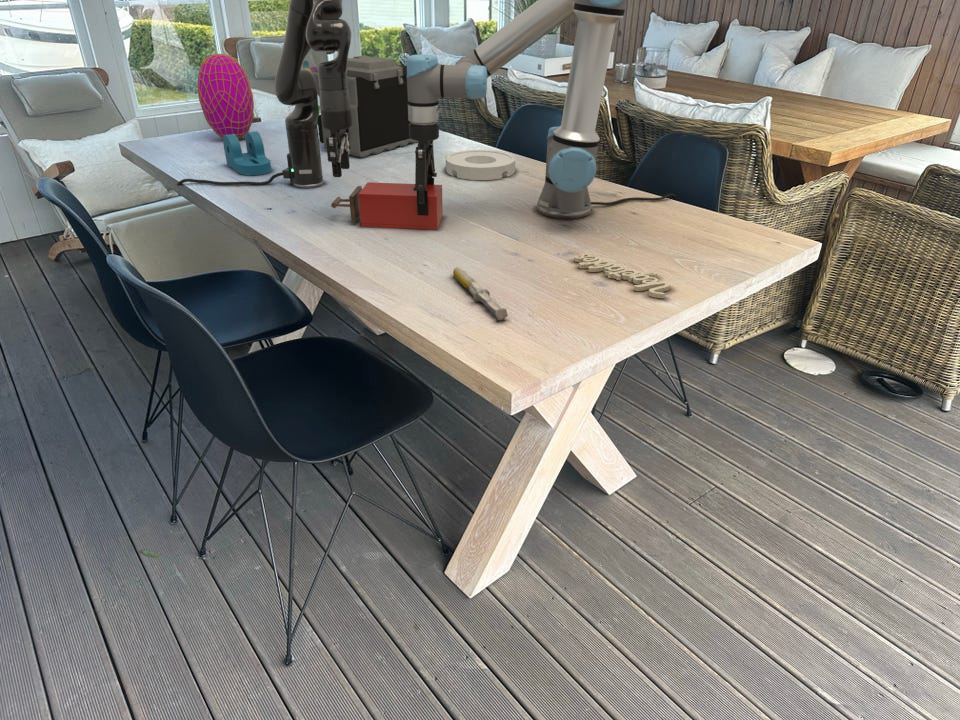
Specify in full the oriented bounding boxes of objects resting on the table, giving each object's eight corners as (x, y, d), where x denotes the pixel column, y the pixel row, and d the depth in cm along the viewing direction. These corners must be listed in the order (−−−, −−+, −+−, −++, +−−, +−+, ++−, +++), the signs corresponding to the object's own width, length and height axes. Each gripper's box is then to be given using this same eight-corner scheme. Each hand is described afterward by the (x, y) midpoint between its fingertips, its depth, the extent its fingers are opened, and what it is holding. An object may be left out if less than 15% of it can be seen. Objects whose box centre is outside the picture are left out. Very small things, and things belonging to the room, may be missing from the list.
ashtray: (448, 160, 240) (448, 149, 238) (514, 162, 240) (514, 150, 238) (443, 179, 220) (443, 166, 218) (515, 180, 220) (515, 168, 218)
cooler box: (383, 133, 276) (378, 52, 261) (425, 141, 265) (422, 56, 250) (314, 150, 251) (304, 61, 235) (358, 160, 240) (350, 67, 224)
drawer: (330, 221, 182) (327, 195, 179) (339, 210, 190) (337, 185, 187) (422, 224, 181) (421, 199, 177) (428, 213, 189) (427, 188, 185)
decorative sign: (686, 282, 150) (660, 295, 144) (686, 286, 150) (659, 300, 144) (592, 249, 166) (565, 259, 160) (592, 253, 167) (565, 263, 161)
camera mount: (227, 164, 233) (221, 132, 227) (257, 160, 238) (252, 129, 233) (244, 176, 220) (239, 143, 215) (276, 172, 225) (271, 139, 220)
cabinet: (361, 226, 182) (358, 193, 177) (369, 213, 191) (367, 182, 186) (437, 229, 180) (436, 196, 176) (442, 216, 189) (442, 184, 185)
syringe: (449, 274, 155) (449, 263, 153) (465, 272, 156) (464, 260, 154) (490, 323, 135) (491, 310, 133) (508, 319, 136) (508, 307, 134)
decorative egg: (223, 147, 254) (207, 59, 238) (197, 138, 265) (180, 54, 250) (268, 138, 266) (256, 54, 251) (241, 130, 277) (228, 49, 262)
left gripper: (343, 113, 165) (348, 180, 174) (357, 102, 178) (362, 166, 186) (312, 112, 166) (319, 179, 174) (328, 101, 178) (334, 165, 187)
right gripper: (431, 133, 162) (433, 223, 173) (444, 113, 181) (445, 195, 193) (400, 132, 162) (404, 221, 173) (416, 112, 182) (419, 194, 193)
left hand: (341, 172), depth 180 cm, fingers open, 7 cm apart
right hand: (426, 208), depth 183 cm, fingers closed on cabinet, 11 cm apart
